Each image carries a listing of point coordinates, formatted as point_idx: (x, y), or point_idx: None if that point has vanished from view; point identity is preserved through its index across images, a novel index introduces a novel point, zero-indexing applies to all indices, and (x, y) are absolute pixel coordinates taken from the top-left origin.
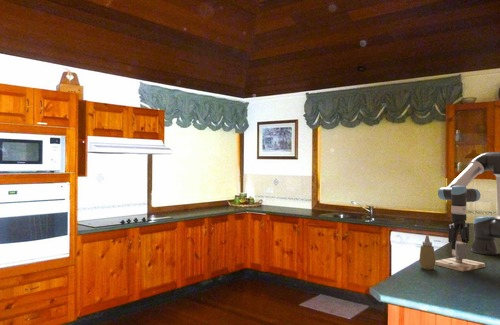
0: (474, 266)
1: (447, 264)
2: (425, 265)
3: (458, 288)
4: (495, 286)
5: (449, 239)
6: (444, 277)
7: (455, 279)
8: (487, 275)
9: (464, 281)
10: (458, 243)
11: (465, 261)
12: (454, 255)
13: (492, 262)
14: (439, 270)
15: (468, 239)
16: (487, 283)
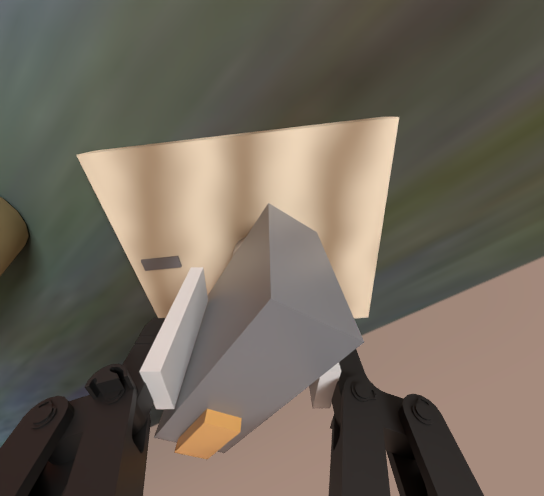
0: None
1: (132, 262)
2: None
3: (18, 415)
4: (151, 426)
5: (8, 468)
6: (24, 348)
7: (61, 371)
8: None
9: (83, 389)
10: (193, 416)
11: None
12: (242, 245)
13: (516, 257)
14: (57, 273)
15: (403, 459)
16: (150, 412)
